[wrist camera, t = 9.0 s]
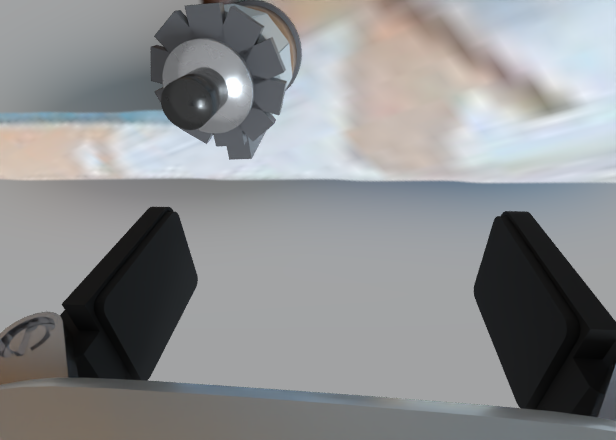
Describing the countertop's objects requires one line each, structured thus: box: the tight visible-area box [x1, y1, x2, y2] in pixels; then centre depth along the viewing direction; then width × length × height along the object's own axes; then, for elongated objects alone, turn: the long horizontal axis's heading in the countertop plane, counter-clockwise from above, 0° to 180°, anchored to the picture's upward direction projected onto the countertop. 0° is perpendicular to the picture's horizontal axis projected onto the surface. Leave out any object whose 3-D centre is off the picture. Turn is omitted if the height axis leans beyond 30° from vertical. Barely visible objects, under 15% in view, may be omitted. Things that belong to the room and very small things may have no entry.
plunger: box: [161, 38, 254, 133], centre depth 25 cm, size 6×6×13 cm
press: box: [151, 0, 302, 160], centre depth 32 cm, size 10×12×15 cm
